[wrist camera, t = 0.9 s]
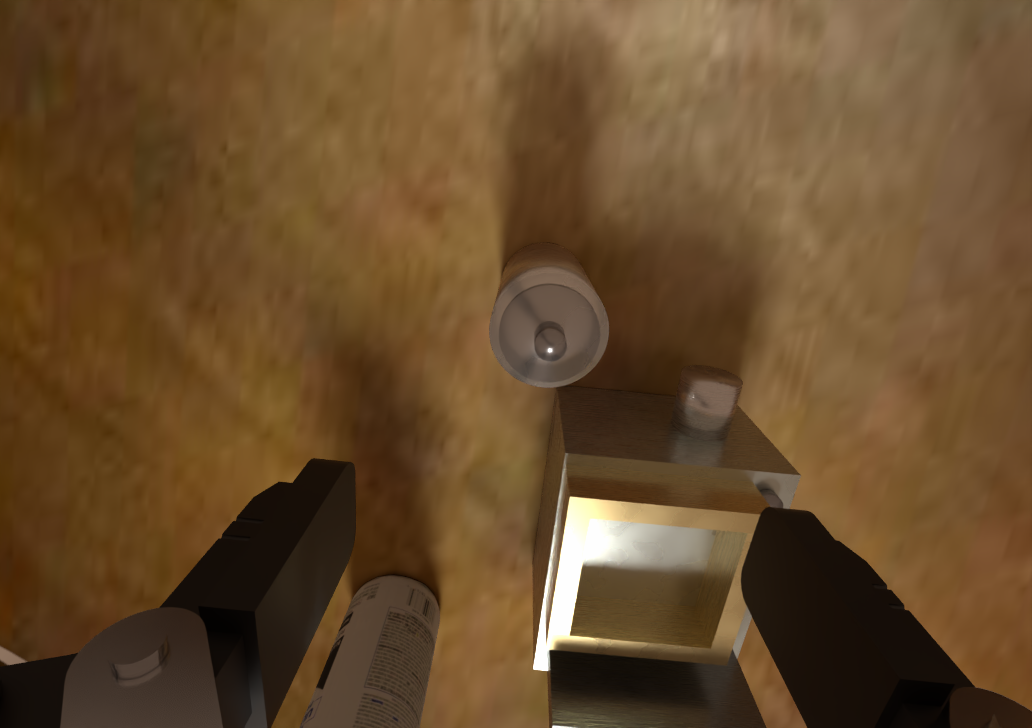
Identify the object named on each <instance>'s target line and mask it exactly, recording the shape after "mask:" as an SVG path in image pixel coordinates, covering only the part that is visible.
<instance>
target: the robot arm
mask: <svg viewBox="0 0 1032 728" xmlns="http://www.w3.org/2000/svg"><path fill="white" fill-rule="evenodd" d="M355 532H356V499H355V467H354V464H353V463H352V462H344V461H334V460H325V459H315V458H313V459H311V460H310V461H309V462H308V463H307V465H306V466H305V467H304V468H303V470H302V471H301V472H300V474H299V475H298V476H297V478H296V479H295V480H294V482H293V483H287V482H278V483H276V484H274V485H273V486H271V487H270V488H268V489H266V490H265V491H263V492H261V493H260V494H258V495H257V496H255V497H253V499H252V500H251V501H250V502H249V503H248V505H247V506H246V507H245V508H244V509H243V510H242V512H241V513H240V514H239V515H238V516H237V519H236V521H233V522H232V523H231V524H230V526H229V527H228V528H227V529H226V530H225V531H224V533H223V534H222V538H221V539H218V540H217V541H216V542H215V543H214V544H213V546H212V547H211V548H210V549H209V550H208V551H207V553H206V554H205V555H204V556H203V557H202V558H201V560H200V561H199V562H198V563H197V564H196V565H195V567H194V568H193V569H192V570H191V571H190V573H189V574H188V575H187V576H186V577H185V578H184V580H183V581H182V582H181V583H180V584H179V585H178V587H177V588H176V589H175V590H174V591H173V592H172V594H171V595H170V596H169V597H168V598H167V600H166V601H165V602H164V603H163V604H162V605H161V607H160V608H156V609H151V610H147V611H143V612H140V613H137V614H134V615H132V616H129V617H127V618H125V619H123V620H120V621H118V622H116V623H115V624H113V625H111V626H110V627H108V628H106V629H105V630H103V631H102V632H101V633H99V634H98V635H96V636H95V637H94V638H93V639H92V640H91V641H89V642H88V643H87V644H86V645H85V646H84V647H83V648H82V649H81V651H80V652H79V653H76V654H71V655H66V656H60V657H54V658H49V659H43V660H37V661H31V662H25V663H19V664H14V665H8V666H2V667H0V728H271V726H272V724H273V722H274V720H275V718H276V715H277V713H278V711H279V709H280V707H281V705H282V703H283V700H284V698H285V696H286V694H287V692H288V690H289V688H290V685H291V683H292V681H293V679H294V677H295V675H296V673H297V670H298V668H299V666H300V664H301V662H302V660H303V658H304V656H305V653H306V651H307V649H308V647H309V645H310V643H311V641H312V638H313V636H314V634H315V632H316V630H317V628H318V626H319V623H320V621H321V619H322V617H323V615H324V613H325V611H326V608H327V606H328V604H329V602H330V600H331V598H332V596H333V594H334V591H335V589H336V587H337V585H338V583H339V581H340V579H341V576H342V574H343V572H344V570H345V568H346V566H347V564H348V561H349V559H350V556H351V553H352V549H353V545H354V540H355ZM741 589H742V594H743V598H744V601H745V603H746V606H747V608H748V610H749V612H750V614H751V616H752V618H753V620H754V622H755V624H756V626H757V628H758V630H759V632H760V634H761V636H762V638H763V640H764V642H765V644H766V646H767V648H768V650H769V652H770V654H771V656H772V658H773V660H774V662H775V664H776V666H777V668H778V670H779V672H780V674H781V676H782V678H783V680H784V682H785V684H786V686H787V688H788V690H789V692H790V694H791V696H792V698H793V700H794V702H795V704H796V706H797V708H798V710H799V712H800V714H801V716H802V718H803V720H804V722H805V724H806V726H807V728H1032V711H1030V710H1029V709H1027V708H1026V707H1024V706H1022V705H1020V704H1019V703H1017V702H1015V701H1013V700H1011V699H1009V698H1007V697H1005V696H1002V695H1000V694H997V693H995V692H992V691H989V690H985V689H981V688H976V687H975V686H974V685H973V684H972V683H971V682H970V681H969V679H968V678H967V677H966V676H965V675H964V674H963V672H962V671H961V670H960V669H959V668H958V667H957V666H956V664H955V663H954V662H953V661H952V660H951V659H950V657H949V656H948V655H947V654H946V653H945V652H944V650H943V649H942V648H941V647H940V646H939V645H938V644H937V642H936V641H935V640H934V639H933V638H932V637H931V635H930V634H929V633H928V632H927V631H926V630H925V629H924V627H923V626H922V625H921V624H920V623H919V622H918V620H917V619H916V618H915V617H914V616H913V615H912V614H911V612H910V611H909V610H905V609H904V604H903V603H902V602H901V601H900V600H899V598H898V597H897V596H896V595H895V594H894V593H893V592H892V590H888V589H887V585H886V583H885V582H884V581H883V580H882V579H881V578H880V577H879V575H878V574H877V573H876V572H875V571H874V570H873V568H872V567H871V566H870V565H869V564H868V563H867V562H866V561H865V560H864V559H862V558H861V557H860V556H858V555H857V554H856V553H854V552H853V551H852V550H850V549H849V548H848V547H846V546H845V545H844V544H842V543H841V542H840V541H836V540H835V539H834V538H833V537H832V536H831V534H830V533H829V532H828V531H827V530H826V528H825V527H824V526H823V525H822V524H821V522H820V521H819V520H818V519H817V518H816V516H815V515H814V514H813V513H811V512H809V511H804V510H795V509H785V508H775V507H767V508H765V509H764V510H763V511H762V513H761V514H760V517H759V519H758V522H757V525H756V528H755V531H754V534H753V537H752V540H751V543H750V546H749V549H748V552H747V555H746V558H745V561H744V564H743V567H742V572H741Z"/></svg>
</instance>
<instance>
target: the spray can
mask: <svg viewBox="0 0 1032 728" xmlns="http://www.w3.org/2000/svg"><path fill="white" fill-rule="evenodd" d="M439 622H440V610H439V606H438V604H437V601H436V597H435V596H434V595H433V593H432V592H431V591H430V590H429V589H428V587H427V586H426V585H425V584H423V583H420V582H418V581H415V580H413V579H410V578H407V577H404V576H396V575H387V576H383V577H377V578H375V579H373V580H371V581H369V582H367V583H365V584H364V585H363V586H362V587H361V588H360V589H359V590H358V592H357V593H356V594H355V596H354V597H353V599H352V601H351V603H350V606H349V608H348V610H347V613H346V615H345V617H344V620H343V623H342V625H341V628H340V630H339V632H338V635H337V637H336V640H335V642H334V645H333V647H332V650H331V652H330V655H329V657H328V660H327V662H326V665H325V667H324V670H323V672H322V674H321V677H320V679H319V682H318V684H317V687H316V689H315V692H314V694H313V697H312V699H311V701H310V704H309V706H308V709H307V711H306V713H305V716H304V718H303V721H302V723H301V726H300V728H419V727H420V722H421V717H422V711H423V707H424V702H425V696H426V690H427V686H428V681H429V675H430V670H431V665H432V660H433V654H434V649H435V643H436V638H437V633H438V628H439Z"/></svg>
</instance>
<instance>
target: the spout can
mask: <svg viewBox="0 0 1032 728" xmlns="http://www.w3.org/2000/svg"><path fill="white" fill-rule="evenodd" d="M489 335H490V342H491V346H492V350H493V352H494V354H495V356H496V358H497V360H498V362H499V363H500V364H501V365H502V367H503V368H504V369H505V370H506V371H507V372H508V373H509V374H511V375H512V376H513V377H514V378H516V379H518V380H520V381H522V382H524V383H526V384H529V385H533V386H537V387H547V388H551V387H559V386H564V385H567V384H570V383H573V382H575V381H577V380H579V379H581V378H582V377H584V376H585V375H586V374H588V373H589V372H590V371H591V370H592V369H593V368H594V367H595V366H596V365H597V363H598V362H599V361H600V359H601V357H602V355H603V354H604V351H605V349H606V346H607V342H608V337H609V322H608V316H607V313H606V310H605V308H604V305H603V303H602V301H601V300H600V298H599V296H598V294H597V293H596V291H595V289H594V287H593V285H592V284H591V282H590V280H589V278H588V276H587V275H586V273H585V271H584V269H583V267H582V266H581V264H580V262H579V261H578V259H577V258H576V257H575V256H574V255H573V254H572V253H571V252H570V251H569V250H567V249H565V248H564V247H562V246H559V245H556V244H553V243H535V244H531V245H528V246H526V247H524V248H522V249H520V250H519V251H518V252H516V253H515V254H514V255H513V256H512V257H511V259H510V260H509V261H508V263H507V264H506V266H505V269H504V271H503V274H502V278H501V282H500V286H499V289H498V293H497V297H496V301H495V305H494V308H493V312H492V316H491V320H490V327H489Z"/></svg>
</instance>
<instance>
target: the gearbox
mask: <svg viewBox="0 0 1032 728" xmlns="http://www.w3.org/2000/svg"><path fill="white" fill-rule="evenodd" d="M742 385H743V381H742V380H741V379H740V378H739V377H738V376H736V375H734V374H732V373H730V372H727V371H725V370H722V369H718V368H714V367H708V366H700V365H692V366H687V367H684V368H683V369H682V373H681V377H680V381H679V386H678V390H677V394H676V396H667V395H657V394H646V393H636V392H626V391H615V390H605V389H594V388H584V387H574V386H559V387H556V393H555V401H554V408H553V416H552V423H551V431H550V438H549V446H548V453H547V461H546V468H545V476H544V483H543V491H542V498H541V506H540V513H539V520H538V528H537V535H536V543H535V550H534V558H533V669H536V670H547V675H548V702H549V728H766V726H765V723H764V721H763V719H762V716H761V714H760V712H759V709H758V707H757V705H756V702H755V700H754V698H753V695H752V693H751V691H750V688H749V686H748V684H747V681H746V679H745V677H744V674H743V672H742V670H741V667H740V665H739V663H738V660H737V658H738V655H739V652H740V650H741V647H742V644H743V641H744V638H745V635H746V632H747V629H748V626H749V624H750V621H751V618H752V616H751V614H750V612H749V610H748V608H747V606H746V603H745V601H744V598H743V594H742V589H741V572H742V567H743V564H744V561H745V558H746V555H747V552H748V549H749V546H750V543H751V540H752V537H753V534H754V531H755V528H756V525H757V522H758V519H759V517H760V514H761V513H762V511H763V510H764V509H765V508H767V507H775V508H785V509H789V508H790V505H791V502H792V500H793V497H794V494H795V491H796V488H797V485H798V482H799V479H800V476H801V475H800V474H799V473H798V472H797V471H796V469H795V468H794V467H793V466H792V465H791V464H790V463H789V462H788V460H787V459H786V458H785V457H784V456H783V455H782V454H781V453H780V452H779V450H778V449H777V448H776V447H775V446H774V445H773V444H772V443H771V442H770V440H769V439H768V438H767V437H766V436H765V435H764V434H763V433H762V432H761V430H760V429H759V428H758V427H757V426H756V425H755V424H754V423H753V421H752V420H751V419H750V418H749V417H748V416H747V415H746V414H745V413H744V411H743V410H742V409H741V408H740V407H739V406H738V405H737V403H738V399H739V395H740V392H741V388H742Z"/></svg>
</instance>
